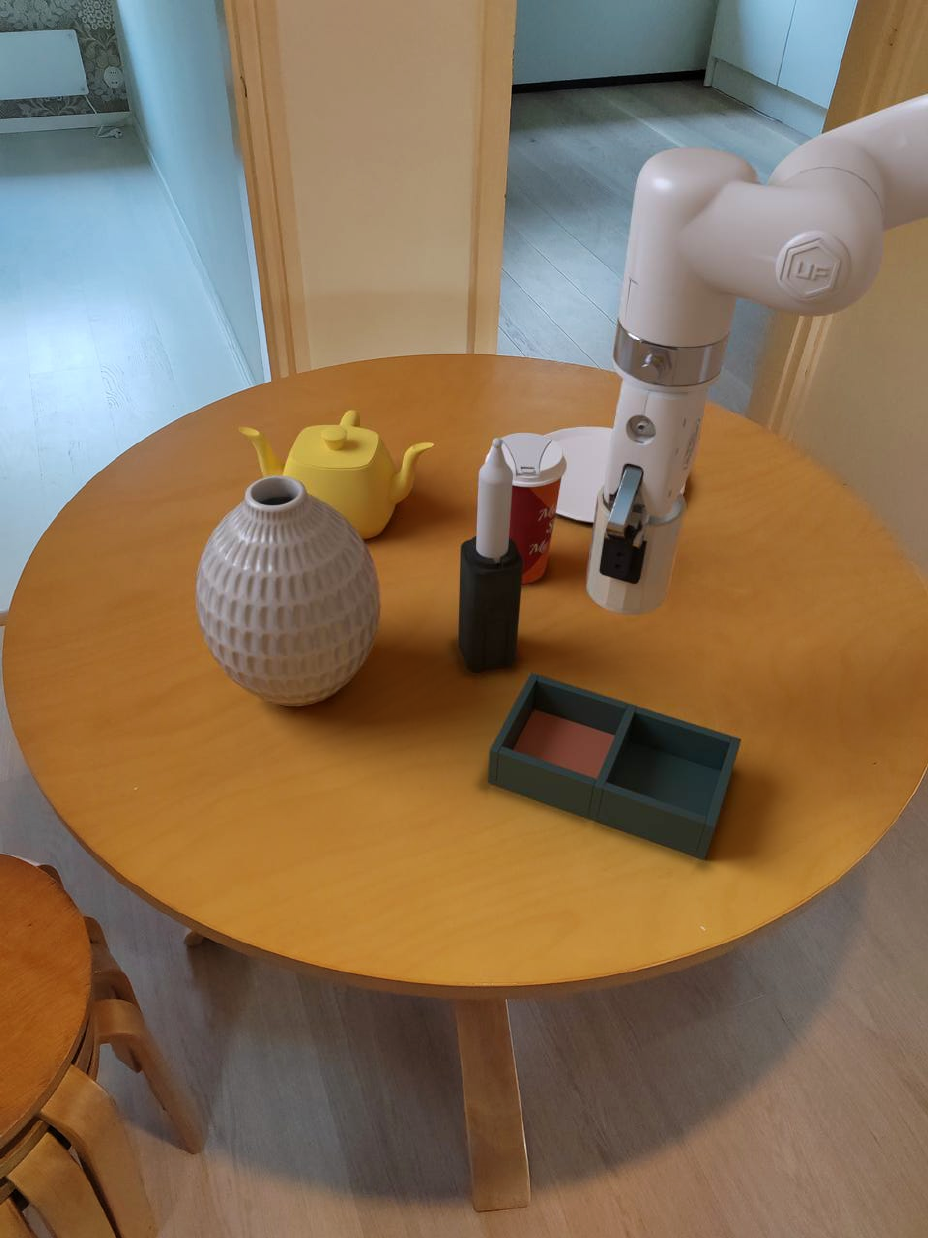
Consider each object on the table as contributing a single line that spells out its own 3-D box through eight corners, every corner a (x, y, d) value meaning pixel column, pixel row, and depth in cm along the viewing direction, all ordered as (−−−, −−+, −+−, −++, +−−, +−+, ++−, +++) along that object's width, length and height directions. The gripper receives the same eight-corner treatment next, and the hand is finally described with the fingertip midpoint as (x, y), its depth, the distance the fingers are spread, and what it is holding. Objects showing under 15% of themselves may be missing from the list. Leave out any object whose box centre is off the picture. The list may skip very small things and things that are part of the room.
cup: (676, 576, 84) (695, 488, 78) (654, 625, 79) (672, 536, 73) (600, 553, 86) (613, 467, 80) (574, 600, 81) (585, 512, 75)
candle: (469, 674, 96) (476, 459, 79) (455, 639, 100) (460, 426, 83) (518, 665, 97) (536, 450, 81) (503, 631, 101) (517, 418, 84)
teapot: (444, 475, 121) (444, 397, 114) (425, 553, 110) (424, 472, 103) (270, 460, 123) (259, 382, 116) (233, 536, 112) (219, 455, 104)
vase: (294, 773, 87) (264, 582, 72) (180, 684, 95) (132, 494, 80) (418, 675, 96) (415, 487, 81) (305, 601, 104) (283, 416, 89)
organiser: (730, 772, 88) (741, 738, 85) (704, 860, 81) (715, 827, 78) (528, 705, 94) (531, 671, 91) (487, 783, 87) (489, 749, 84)
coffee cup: (557, 592, 106) (570, 475, 96) (480, 590, 106) (485, 473, 96) (553, 543, 112) (565, 429, 102) (481, 541, 112) (485, 427, 102)
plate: (679, 439, 129) (681, 431, 128) (689, 537, 113) (691, 528, 112) (520, 427, 130) (521, 419, 129) (509, 522, 115) (509, 514, 114)
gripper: (689, 420, 61) (647, 630, 73) (751, 308, 72) (705, 505, 85) (575, 392, 63) (552, 600, 75) (652, 287, 75) (622, 482, 87)
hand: (633, 548), depth 80 cm, fingers closed on cup, 6 cm apart
